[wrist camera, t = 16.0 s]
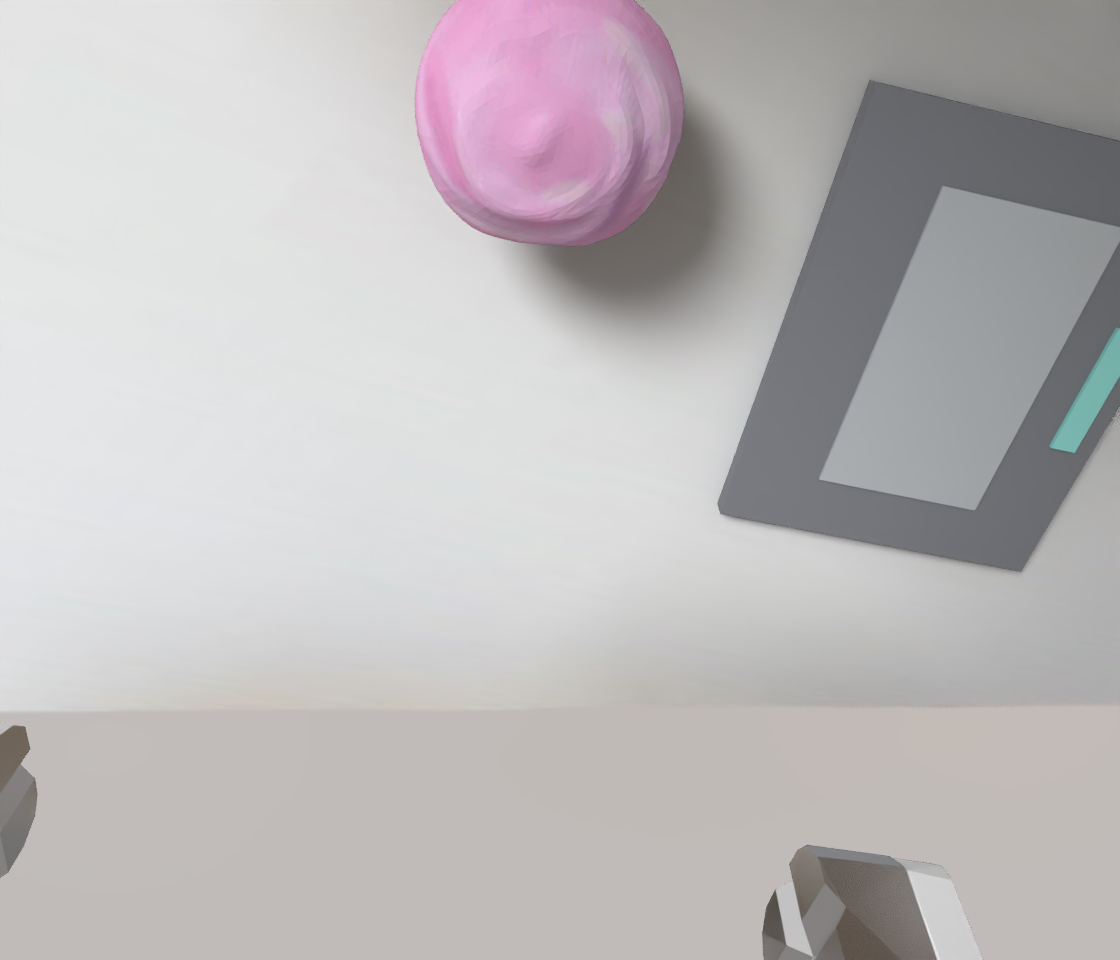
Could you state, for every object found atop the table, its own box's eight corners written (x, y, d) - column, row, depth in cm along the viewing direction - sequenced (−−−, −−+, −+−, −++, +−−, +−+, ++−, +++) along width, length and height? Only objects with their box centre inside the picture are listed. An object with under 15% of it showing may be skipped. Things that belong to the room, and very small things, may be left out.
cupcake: (433, 184, 37) (390, 252, 28) (452, -56, 32) (407, -63, 24) (642, 218, 37) (662, 294, 29) (689, -14, 33) (729, -6, 24)
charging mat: (869, 80, 34) (878, 83, 33) (1239, 170, 36) (1259, 176, 35) (717, 503, 44) (720, 516, 43) (1012, 560, 46) (1022, 573, 45)
